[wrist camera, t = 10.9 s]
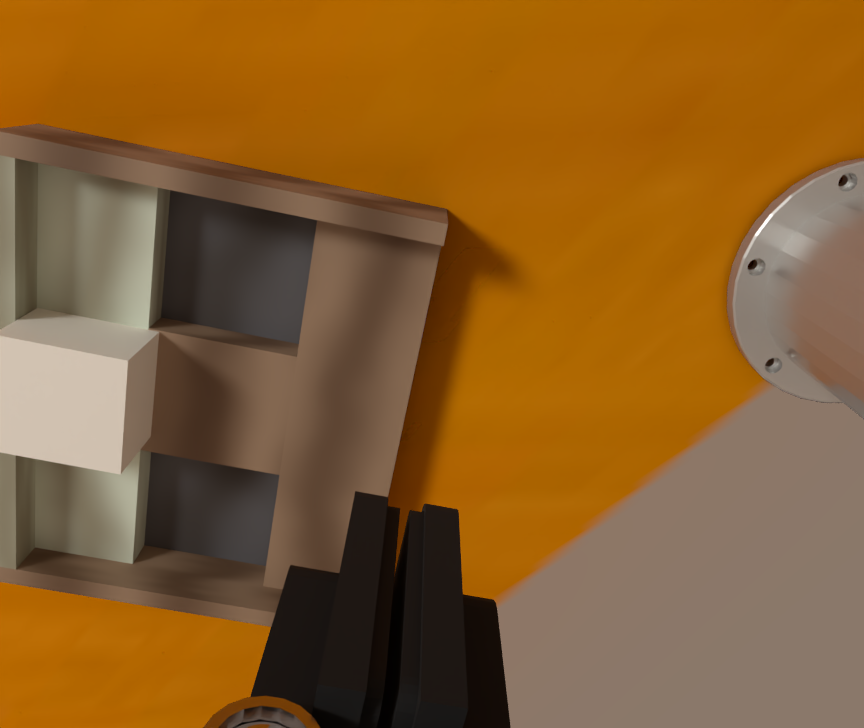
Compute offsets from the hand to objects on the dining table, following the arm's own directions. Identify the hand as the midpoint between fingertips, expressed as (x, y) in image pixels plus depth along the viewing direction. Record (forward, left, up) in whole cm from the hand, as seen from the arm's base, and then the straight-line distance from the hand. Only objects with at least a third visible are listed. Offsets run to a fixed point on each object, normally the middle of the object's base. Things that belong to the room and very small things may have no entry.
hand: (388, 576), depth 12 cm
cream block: (+15, +10, -25) cm, 31 cm away
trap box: (+9, +11, -27) cm, 30 cm away
